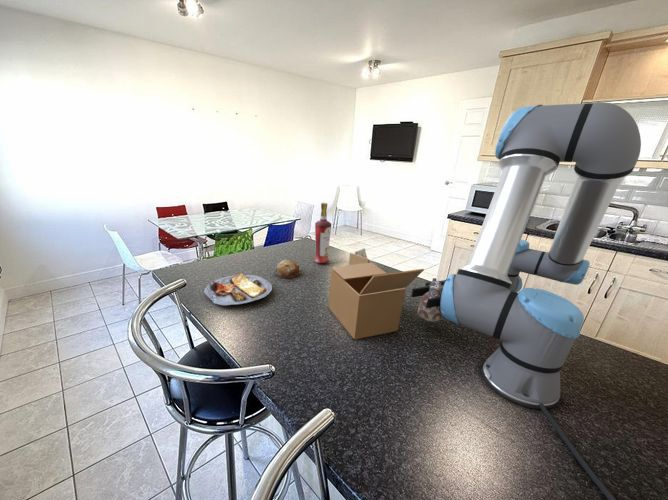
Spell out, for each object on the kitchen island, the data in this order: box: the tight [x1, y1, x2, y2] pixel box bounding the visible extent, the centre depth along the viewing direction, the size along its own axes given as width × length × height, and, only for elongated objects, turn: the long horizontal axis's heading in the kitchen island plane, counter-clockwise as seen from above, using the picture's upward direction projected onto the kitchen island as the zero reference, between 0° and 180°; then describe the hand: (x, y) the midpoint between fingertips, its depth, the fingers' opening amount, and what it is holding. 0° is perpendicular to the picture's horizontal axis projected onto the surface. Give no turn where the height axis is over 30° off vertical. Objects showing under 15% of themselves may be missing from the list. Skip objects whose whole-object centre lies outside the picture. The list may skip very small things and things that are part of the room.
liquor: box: [313, 202, 332, 265], centre depth 134 cm, size 7×7×28 cm
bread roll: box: [275, 259, 300, 279], centre depth 126 cm, size 10×10×8 cm
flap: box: [360, 268, 425, 294], centre depth 78 cm, size 9×15×1 cm
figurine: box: [416, 277, 444, 323], centre depth 90 cm, size 7×7×12 cm
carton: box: [328, 262, 406, 340], centre depth 93 cm, size 19×15×15 cm
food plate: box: [203, 271, 273, 306], centre depth 110 cm, size 25×23×4 cm
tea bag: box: [354, 248, 368, 259], centre depth 129 cm, size 4×7×10 cm, turn 135°
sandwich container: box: [348, 252, 372, 265], centre depth 114 cm, size 9×15×15 cm, turn 131°
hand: (420, 298), depth 88 cm, fingers closed on figurine, 6 cm apart
